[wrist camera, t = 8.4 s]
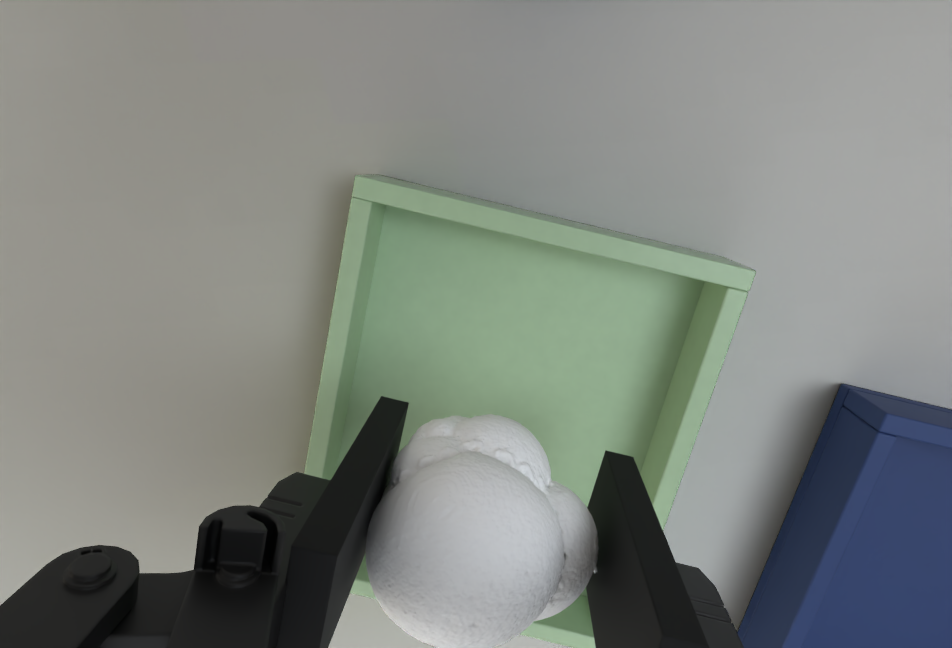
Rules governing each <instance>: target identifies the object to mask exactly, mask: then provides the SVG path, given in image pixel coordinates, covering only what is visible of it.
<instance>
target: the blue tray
mask: <svg viewBox="0 0 952 648" xmlns="http://www.w3.org/2000/svg"><path fill="white" fill-rule="evenodd" d="M737 634H738V636H739V638H740V640H741V642H742V644H743V646H744V648H952V410H951V409H946V408H942V407H938V406H934V405H930V404H926V403H921V402H917V401H913V400H909V399H905V398H901V397H897V396H892V395H888V394H884V393H880V392H876V391H872V390H867V389H863V388H859V387H855V386H851V385H847V384H841V386H840V388H839V390H838V393H837V395H836V398H835V400H834V402H833V405H832V407H831V410H830V412H829V414H828V417H827V419H826V422H825V424H824V426H823V429H822V431H821V434H820V436H819V438H818V441H817V443H816V445H815V448H814V450H813V453H812V455H811V457H810V460H809V462H808V465H807V467H806V469H805V472H804V474H803V477H802V479H801V481H800V484H799V486H798V489H797V491H796V493H795V496H794V498H793V501H792V503H791V505H790V508H789V510H788V512H787V515H786V517H785V520H784V522H783V524H782V527H781V529H780V532H779V534H778V536H777V539H776V541H775V544H774V546H773V548H772V551H771V553H770V556H769V558H768V560H767V563H766V565H765V568H764V570H763V572H762V575H761V577H760V579H759V582H758V584H757V587H756V589H755V591H754V594H753V596H752V599H751V601H750V603H749V606H748V608H747V611H746V613H745V615H744V618H743V620H742V623H741V625H740V627H739V630H738V632H737Z"/></svg>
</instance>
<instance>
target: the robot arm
mask: <svg viewBox="0 0 952 648" xmlns="http://www.w3.org/2000/svg"><path fill="white" fill-rule="evenodd" d="M408 405H409V403H408V402H404V401H400V400H396V399H392V398H388V397H384V396H381V397H380V399H379V401H378V402H377V404H376V406H375V407H374V409H373V411H372V412H371V414H370V416H369V417H368V419H367V421H366V422H365V424H364V426H363V427H362V429H361V431H360V432H359V434H358V436H357V437H356V439H355V441H354V442H353V444H352V445H351V447H350V449H349V450H348V452H347V454H346V455H345V457H344V459H343V460H342V462H341V464H340V465H339V467H338V469H337V470H336V472H335V474H334V475H333V477H332V479H331V480H327V479H323V478H319V477H315V476H311V475H307V474H303V473H299V472H296V473H294V474H292V475H290V476H288V477H286V478H285V479H283V480H281V481H279V482H278V483H277V484H276V486H275V487H274V488H273V490H272V491H271V492H270V493H269V495H268V497H267V498H266V499H265V500H264V501H263V503H262V504H261V505H260V507H255V506H250V505H249V506H232V507H228V508H224V509H220V510H217V511H216V512H214V513H212V514H211V515H209V516H207V517H206V518H205V519H204V521H203V522H202V523H201V525H200V526H199V532H198V540H197V548H196V556H195V565H194V570H191V571H187V572H182V573H139V562H138V560H137V558H136V557H135V556H134V555H133V554H132V553H131V552H129V551H127V550H124V549H122V548H119V547H115V546H103V545H97V546H90V547H83V548H79V549H76V550H73V551H70V552H67V553H64V554H62V555H60V556H59V557H57V558H56V559H54V560H53V561H51V562H50V563H48V564H47V565H46V566H44V567H43V568H42V569H41V570H40V571H39V572H38V573H37V574H35V575H34V576H33V577H32V578H31V579H30V580H29V581H28V582H26V583H25V584H24V585H23V586H22V587H21V588H20V589H18V590H17V591H16V592H15V593H14V594H13V595H12V596H11V597H9V598H8V599H7V600H6V601H5V602H4V603H3V604H1V605H0V648H328V646H329V644H330V641H331V638H332V636H333V633H334V631H335V628H336V626H337V623H338V621H339V618H340V616H341V613H342V611H343V608H344V606H345V603H346V601H347V598H348V596H349V593H350V591H351V588H352V586H353V583H354V581H355V578H356V575H357V573H358V570H359V568H360V565H361V563H362V560H363V558H364V555H365V553H366V542H367V533H368V527H369V523H370V520H371V518H372V515H373V513H374V511H375V509H376V507H377V505H378V504H379V502H380V500H381V498H382V495H383V492H384V490H385V488H386V487H387V485H388V484H389V482H390V480H391V469H392V466H393V462H394V460H395V458H396V456H397V455H398V451H399V447H400V442H401V437H402V433H403V428H404V423H405V419H406V414H407V410H408ZM587 509H588V510H589V512H590V514H591V515H592V517H593V520H594V523H595V525H596V529H597V536H598V547H599V549H598V556H597V557H598V559H597V564H596V566H597V572H596V573H594V572H593V573H592V576H591V578H590V580H589V582H588V584H587V586H586V591H587V597H588V603H589V609H590V615H591V622H592V628H593V634H594V640H595V646H596V648H744V646H743V644H742V642H741V640H740V638H739V636H738V634H737V631H736V629H735V627H734V625H733V624H732V623H731V619H730V617H729V614H728V612H727V610H726V608H724V604H723V602H722V600H721V598H720V595H719V593H718V591H717V589H716V587H715V586H714V584H713V583H712V582H711V581H710V580H709V579H708V578H707V577H706V576H705V575H704V574H703V573H702V571H701V570H700V569H699V568H696V567H692V566H688V565H684V564H679V563H676V562H675V560H674V557H673V555H672V552H671V550H670V547H669V545H668V542H667V540H666V537H665V535H664V532H663V530H662V527H661V525H660V522H659V520H658V517H657V515H656V512H655V510H654V507H653V505H652V502H651V500H650V497H649V495H648V492H647V490H646V487H645V485H644V482H643V480H642V477H641V475H640V472H639V470H638V467H637V465H636V462H635V460H634V457H631V456H627V455H623V454H619V453H615V452H611V451H607V450H605V453H604V457H603V460H602V463H601V466H600V469H599V472H598V476H597V479H596V482H595V485H594V488H593V491H592V495H591V498H590V501H589V504H588V507H587Z"/></svg>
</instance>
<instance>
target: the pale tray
mask: <svg viewBox="0 0 952 648" xmlns="http://www.w3.org/2000/svg"><path fill="white" fill-rule="evenodd" d="M352 196H353V197H352V198H351V203H350V209H349V214H348V220H347V226H346V232H345V238H344V244H343V249H342V255H341V261H340V267H339V273H338V279H337V284H336V290H335V296H334V302H333V308H332V314H331V319H330V325H329V331H328V337H327V343H326V348H325V354H324V360H323V366H322V372H321V378H320V383H319V389H318V395H317V401H316V407H315V413H314V418H313V424H312V430H311V436H310V442H309V448H308V453H307V459H306V465H305V471H304V474H307V475H311V476H315V477H319V478H323V479H327V480H331V479H332V477H333V475H334V474H335V472H336V470H337V469H338V467H339V465H340V464H341V462H342V460H343V459H344V457H345V455H346V454H347V452H348V450H349V449H350V447H351V445H352V444H353V442H354V441H355V439H356V437H357V436H358V434H359V432H360V431H361V429H362V427H363V426H364V424H365V422H366V421H367V419H368V417H369V416H370V414H371V412H372V411H373V409H374V407H375V406H376V404H377V402H378V401H379V399H380V397H381V396H384V397H388V398H392V399H396V400H400V401H404V402H408V403H409V405H408V410H407V414H406V419H405V423H404V428H403V433H402V437H401V442H400V447H399V451H398V453H399V452H400V451H401V450H402V449H403V448H404V447H405V446H406V445H408V443H409V440H410V439H411V437H412V436H413V435H414V434H415V433H416V431H417V429H418V428H420V427H421V426H422V425H423V424H425V423H428V422H430V421H431V420H433V419H440V418H441V419H443V418H445V417H450V416H462V417H468V418H472V417H474V416H481V415H487V414H493V415H500V416H502V417H507V418H510V419H512V420H514V421H516V422H518V423H520V424H521V425H522V426H524V427H525V428H527V429H528V430H529V431H530V432H531V433H532V434H533V435H534V436H535V438H536V439H537V440H538V441H539V443H540V445H541V446H542V447H543V449H544V451H545V453H546V455H547V458H548V462H549V466H550V469H551V479H552V480H553V481H557V482H558V483H560V484H562V485H564V486H565V487H567V488H569V489H570V490H571V491H572V492H573V493H575V494H576V495H577V496H578V498H579V499H580V500H581V501H582V502H583V503H584V504H585V506H586V507H588V504H589V501H590V498H591V495H592V491H593V488H594V485H595V482H596V479H597V476H598V472H599V469H600V466H601V463H602V460H603V457H604V453H605V450H607V451H611V452H615V453H619V454H623V455H627V456H631V457H634V460H635V462H636V465H637V467H638V470H639V472H640V475H641V477H642V480H643V482H644V485H645V487H646V490H647V492H648V495H649V497H650V500H651V502H652V505H653V507H654V510H655V512H656V515H657V517H658V520H659V522H660V525H661V527H662V530H663V529H664V527H665V524H666V521H667V518H668V515H669V513H670V510H671V507H672V504H673V501H674V499H675V496H676V493H677V490H678V488H679V485H680V482H681V479H682V476H683V474H684V471H685V468H686V465H687V462H688V460H689V457H690V454H691V451H692V449H693V446H694V443H695V440H696V437H697V435H698V432H699V429H700V426H701V423H702V421H703V418H704V415H705V412H706V409H707V407H708V404H709V401H710V398H711V396H712V393H713V390H714V387H715V384H716V382H717V379H718V376H719V373H720V370H721V368H722V365H723V362H724V359H725V357H726V354H727V351H728V348H729V345H730V343H731V340H732V337H733V334H734V331H735V329H736V326H737V323H738V320H739V317H740V315H741V312H742V309H743V306H744V304H745V301H746V298H747V295H748V292H747V291H749V290H750V288H751V285H752V282H753V279H754V277H755V274H756V271H755V270H753V269H750V268H748V267H746V266H744V265H741V264H739V263H737V262H734V261H732V260H729V259H727V258H725V257H720V256H716V255H712V254H708V253H704V252H700V251H695V250H691V249H687V248H683V247H679V246H674V245H670V244H666V243H662V242H658V241H654V240H649V239H645V238H641V237H637V236H633V235H629V234H624V233H620V232H616V231H612V230H608V229H603V228H599V227H595V226H591V225H587V224H583V223H578V222H574V221H570V220H566V219H562V218H558V217H553V216H549V215H545V214H541V213H537V212H532V211H528V210H524V209H520V208H516V207H512V206H507V205H503V204H499V203H495V202H491V201H486V200H482V199H478V198H474V197H470V196H466V195H461V194H457V193H453V192H449V191H445V190H441V189H436V188H432V187H428V186H424V185H420V184H415V183H411V182H407V181H403V180H399V179H395V178H390V177H386V176H382V175H378V174H375V175H374V174H373V175H356V176H355V179H354V185H353V191H352ZM350 593H353V594H357V595H361V596H365V597H369V598H373V599H376V597H375V595H374V592H373V590H372V587H371V584H370V580H369V577H368V572H367V567H366V553H365V555H364V558H363V560H362V563H361V565H360V568H359V570H358V573H357V575H356V578H355V581H354V583H353V586H352V588H351V591H350ZM519 635H523V636H528V637H532V638H536V639H540V640H544V641H548V642H552V643H556V644H560V645H564V646H568V647H572V648H596V646H595V640H594V634H593V628H592V622H591V615H590V609H589V603H588V597H587V591H586V588H585V589H584V591H583V592H582V593H581V594H580V596H579V597H578V598H577V599H576V600H575V601H574V602H573V603H572V604H571V605H570V606H568V607H567V608H566V609H564V610H563V611H561V612H560V613H558V614H556V615H553V616H551V617H548V618H544V619H542V620H537V621H534V622H533V623H532V624H531V625H530V626H529V627H527V628H526V629H525V630H524V631H523V632H521V634H519Z"/></svg>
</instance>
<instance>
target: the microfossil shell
mask: <svg viewBox="0 0 952 648" xmlns="http://www.w3.org/2000/svg"><path fill="white" fill-rule="evenodd" d="M598 549H599V547H598V536H597V529H596V525H595V523H594V520H593V517H592V515H591V514H590V512H589V510H588V509H587V507H586V506H585V504H584V503H583V502H582V501H581V500H580V499H579V498H578V496H577V495H576V494H575V493H573V492H572V491H571V490H570V489H569V488H567V487H565V486H564V485H562V484H560V483H558V482H557V481H553V480H552V479H551V469H550V466H549V462H548V458H547V455H546V453H545V451H544V449H543V447H542V446H541V445H540V443H539V441H538V440H537V439H536V438H535V436H534V435H533V434H532V433H531V432H530V431H529V430H528V429H527V428H525V427H524V426H522V425H521V424H520V423H518V422H516V421H514V420H512V419H510V418H507V417H502V416H500V415H493V414H487V415H481V416H474V417H472V418H468V417H462V416H450V417H445V418H443V419H441V418H440V419H433V420H431V421H430V422H428V423H425V424H423V425H422V426H421V427H420V428H418V429H417V431H416V433H415V434H414V435H413V436H412V437H411V439H410V440H409V443H408V445H406V446H405V447H404V448H403V449H402V450H401V451H400V452H399V453H398V455H397V456H396V458H395V460H394V462H393V466H392V469H391V480H390V482H389V484H388V485H387V487H386V488H385V490H384V492H383V495H382V498H381V500H380V502H379V504H378V505H377V507H376V509H375V511H374V513H373V515H372V518H371V520H370V523H369V527H368V533H367V542H366V567H367V572H368V577H369V580H370V584H371V587H372V590H373V592H374V595H375V597H376V599H377V601H378V602H379V604H380V606H381V608H382V609H383V611H384V612H385V613H386V614H387V616H388V617H389V618H390V619H391V620H392V621H393V622H394V623H396V624H397V625H398V626H399V627H400V628H401V629H402V630H404V631H405V632H406V633H407V634H408V635H410V636H412V637H414V638H415V639H418V640H419V641H421V642H423V643H425V644H430V645H432V646H434V647H436V648H492V647H495V646H498V645H501V644H504V643H506V642H508V641H509V640H511V639H512V638H514V637H515V636H517V635H519V634H521V632H523V631H524V630H525V629H526V628H527V627H529V626H530V625H531V624H532V623H533V622H534V621H537V620H542V619H544V618H548V617H551V616H553V615H556V614H558V613H560V612H561V611H563V610H564V609H566V608H567V607H568V606H570V605H571V604H572V603H573V602H574V601H575V600H576V599H577V598H578V597H579V596H580V594H581V593H582V592H583V591H584V589H585V588H586V586H587V584H588V582H589V580H590V578H591V576H592V573H593V572H594V573H596V572H597V566H596V564H597V559H598V557H597V556H598Z"/></svg>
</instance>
